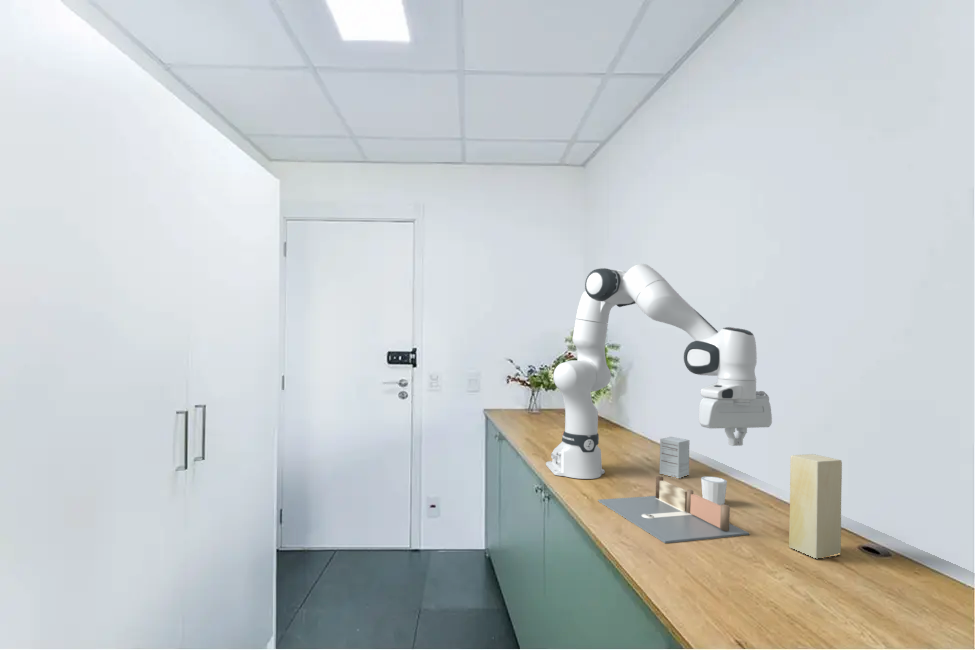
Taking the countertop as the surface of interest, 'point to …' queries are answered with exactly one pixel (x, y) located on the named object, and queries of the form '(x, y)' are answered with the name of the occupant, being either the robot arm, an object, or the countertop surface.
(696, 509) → the hinged fence panel
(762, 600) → the countertop surface
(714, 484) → the white cup
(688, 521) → the card
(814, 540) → the toy refrigerator
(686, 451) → the supplement box
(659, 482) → the fixed fence panel
